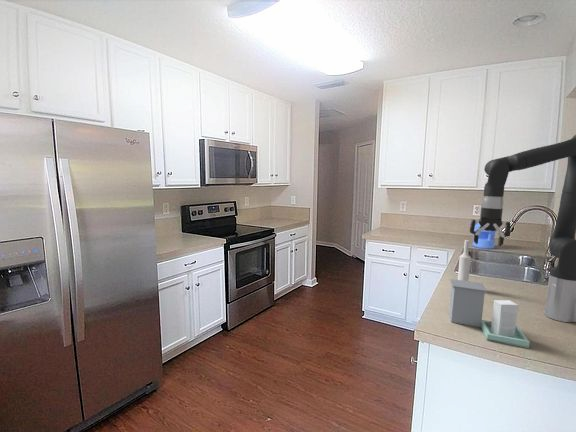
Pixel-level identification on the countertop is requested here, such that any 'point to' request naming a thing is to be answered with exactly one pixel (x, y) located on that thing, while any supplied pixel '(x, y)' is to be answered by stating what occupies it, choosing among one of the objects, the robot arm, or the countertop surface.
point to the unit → (466, 302)
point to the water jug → (484, 239)
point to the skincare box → (504, 318)
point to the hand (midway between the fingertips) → (487, 244)
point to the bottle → (464, 263)
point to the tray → (517, 340)
